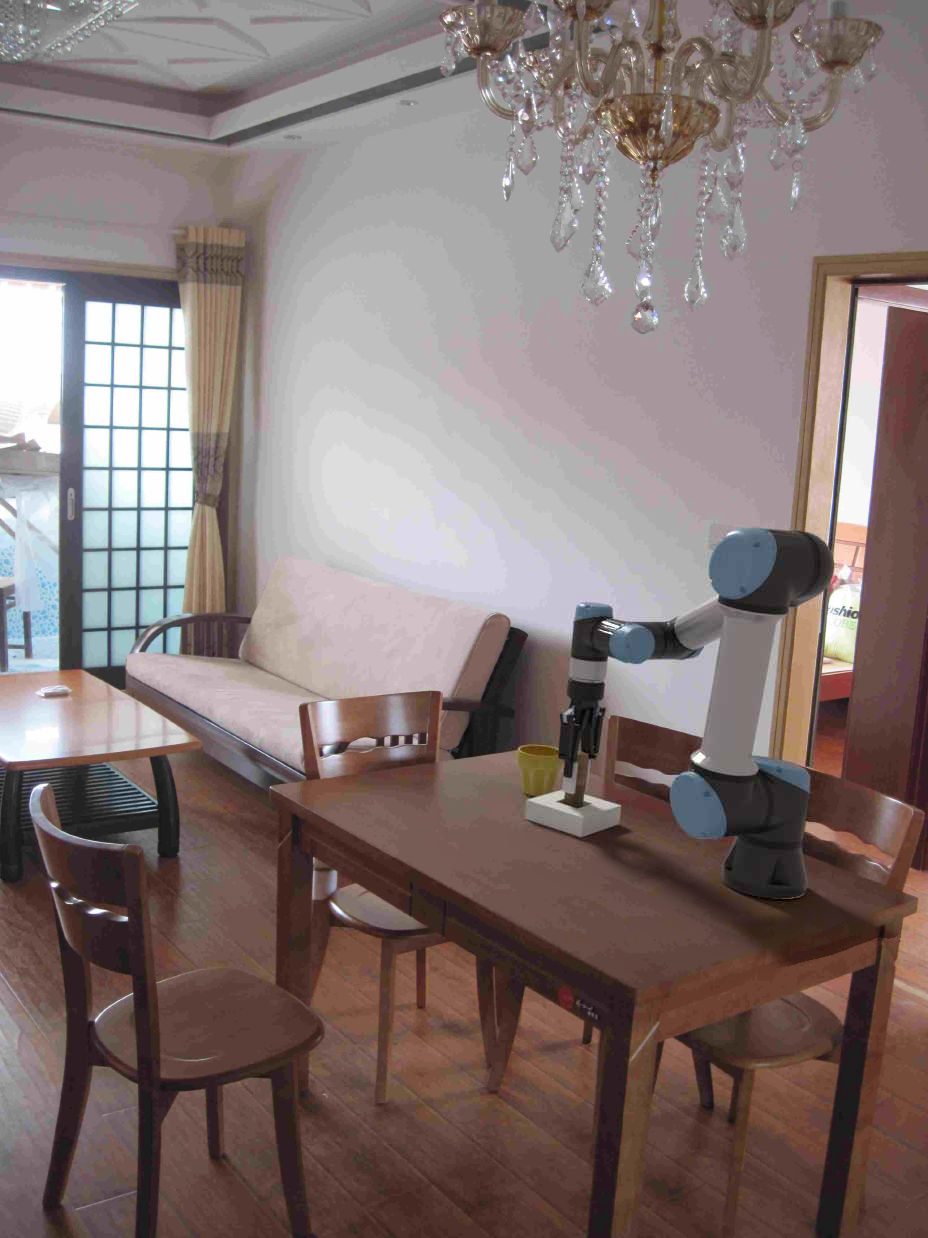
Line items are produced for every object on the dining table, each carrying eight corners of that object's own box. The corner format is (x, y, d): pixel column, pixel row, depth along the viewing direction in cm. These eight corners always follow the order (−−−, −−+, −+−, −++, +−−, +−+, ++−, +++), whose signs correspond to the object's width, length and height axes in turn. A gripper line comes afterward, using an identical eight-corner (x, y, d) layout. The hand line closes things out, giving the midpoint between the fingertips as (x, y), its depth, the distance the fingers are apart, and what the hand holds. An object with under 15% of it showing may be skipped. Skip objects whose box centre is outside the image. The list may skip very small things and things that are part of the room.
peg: (586, 810, 237) (592, 754, 235) (575, 814, 234) (581, 757, 232) (570, 805, 239) (576, 749, 238) (559, 809, 236) (565, 752, 235)
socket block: (619, 824, 238) (621, 805, 237) (580, 837, 227) (583, 817, 227) (563, 806, 247) (565, 788, 246) (524, 818, 236) (526, 799, 235)
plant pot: (505, 787, 258) (509, 744, 257) (545, 785, 262) (550, 743, 261) (527, 800, 249) (531, 757, 247) (568, 798, 253) (573, 755, 252)
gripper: (594, 671, 242) (583, 779, 245) (547, 679, 229) (535, 792, 232) (625, 678, 237) (612, 788, 240) (578, 686, 224) (566, 802, 227)
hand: (574, 790), depth 236 cm, fingers closed on peg, 4 cm apart
